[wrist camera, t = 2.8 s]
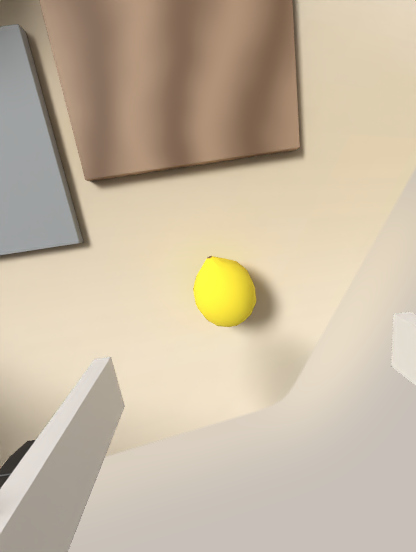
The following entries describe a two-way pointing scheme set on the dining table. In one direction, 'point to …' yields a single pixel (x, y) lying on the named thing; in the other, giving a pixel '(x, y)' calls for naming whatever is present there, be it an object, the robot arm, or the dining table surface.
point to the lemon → (224, 292)
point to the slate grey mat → (29, 158)
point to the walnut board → (174, 81)
